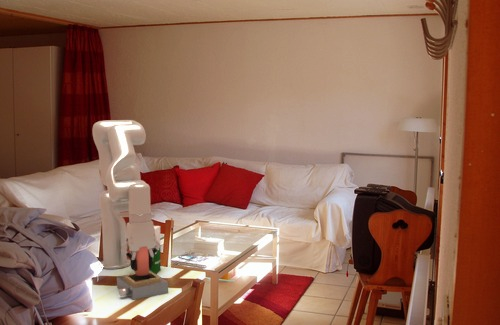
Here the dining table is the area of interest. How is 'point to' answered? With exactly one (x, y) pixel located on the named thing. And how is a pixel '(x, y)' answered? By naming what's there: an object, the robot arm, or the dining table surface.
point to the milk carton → (157, 255)
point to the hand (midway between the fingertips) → (141, 268)
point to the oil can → (142, 261)
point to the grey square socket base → (141, 285)
